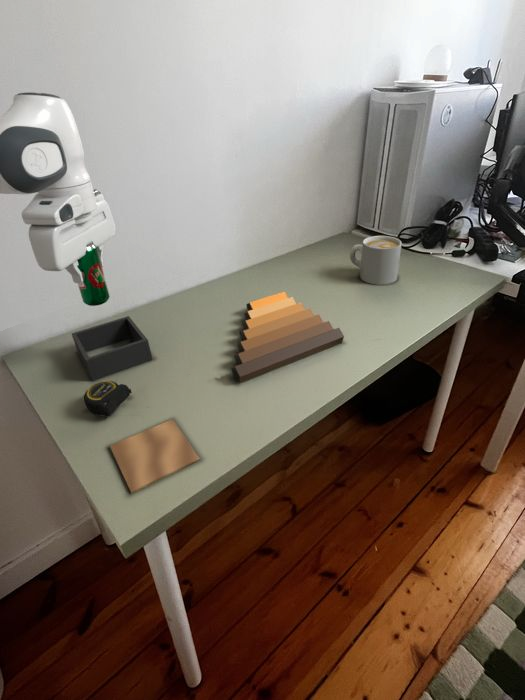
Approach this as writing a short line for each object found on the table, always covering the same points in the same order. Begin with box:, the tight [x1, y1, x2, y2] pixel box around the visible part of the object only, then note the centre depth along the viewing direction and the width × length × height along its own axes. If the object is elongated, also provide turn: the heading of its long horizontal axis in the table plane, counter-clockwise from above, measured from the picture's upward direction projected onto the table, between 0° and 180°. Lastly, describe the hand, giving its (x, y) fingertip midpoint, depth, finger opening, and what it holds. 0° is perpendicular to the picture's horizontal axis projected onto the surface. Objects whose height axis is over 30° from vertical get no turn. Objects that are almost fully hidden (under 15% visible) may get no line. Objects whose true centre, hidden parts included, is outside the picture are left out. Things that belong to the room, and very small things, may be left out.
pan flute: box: [231, 291, 345, 384], centre depth 96 cm, size 25×3×25 cm
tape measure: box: [83, 380, 132, 417], centre depth 78 cm, size 7×7×4 cm
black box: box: [71, 315, 153, 382], centre depth 92 cm, size 13×13×5 cm
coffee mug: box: [349, 235, 402, 286], centre depth 118 cm, size 13×10×10 cm
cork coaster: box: [109, 418, 201, 494], centre depth 69 cm, size 11×11×1 cm
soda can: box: [77, 241, 111, 307], centre depth 83 cm, size 5×5×12 cm
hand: (89, 274), depth 83 cm, fingers closed on soda can, 5 cm apart
